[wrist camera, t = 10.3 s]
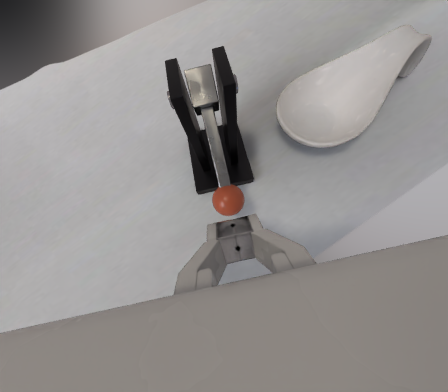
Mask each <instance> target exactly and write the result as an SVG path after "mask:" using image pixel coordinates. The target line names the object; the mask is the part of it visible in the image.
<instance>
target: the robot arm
mask: <svg viewBox="0 0 448 392" xmlns="http://www.w3.org/2000/svg"><path fill="white" fill-rule="evenodd" d="M252 258H256V259H257V260H258V261H259V262H261V263H262V264H263V265H264V266H265V267H266V268H268V269H269V270H270V271H271V272H272V274H268V275H263V276H259V277H254V278H249V279H245V280H240V281H236V282H231V283H227V284H222V285H218V283H219V281H220V279H221V277H222V274H223V272H224V270H225V268H226V266H227V264H230V263H234V262H238V261H242V260H247V259H252ZM217 285H218V286H217ZM0 392H448V235H446V236H441V237H437V238H432V239H428V240H423V241H418V242H414V243H410V244H405V245H400V246H396V247H391V248H386V249H382V250H377V251H373V252H369V253H364V254H359V255H355V256H350V257H346V258H341V259H337V260H332V261H328V262H323V263H319V264H316V262H315V261H314V259H313V258H312V257H311V255H310V254H309V253H308V251H307V250H306V249H305V247H304V246H302V245H300V244H298V243H295V242H293V241H291V240H289V239H287V238H285V237H283V236H281V235H278V234H276V233H274V232H272V231H270V230H268V229H263V227H262V225H261V223H260V221H259V219H258V217H257V215H256V214H252V215H248V216H245V217H241V218H237V219H233V220H227V221H222V222H217V223H213V224H208V225H207V242H205V243H204V244H203V245H202V246H201V247H200V248H199V250H198V251H197V252H196V253H195V254H194V256H193V257H192V258H191V259H190V260H189V262H188V263H187V264H186V265H185V266H184V268H183V269H182V270H181V271H180V272H179V274H178V277H177V282H176V286H175V291H174V295H172V296H168V297H163V298H158V299H154V300H149V301H145V302H140V303H136V304H131V305H126V306H122V307H117V308H113V309H108V310H104V311H99V312H94V313H90V314H85V315H81V316H76V317H71V318H67V319H62V320H58V321H53V322H49V323H44V324H39V325H35V326H30V327H26V328H21V329H16V330H12V331H7V332H3V333H0Z"/></svg>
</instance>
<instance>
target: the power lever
mask: <svg viewBox="0 0 448 392" xmlns="http://www.w3.org/2000/svg"><path fill="white" fill-rule="evenodd" d="M184 73H185V77H186V81H187V85H188V89H189V93H190V97H191V101H192V105H193V108H194V110H195V112H196V114H197V116H198V115H202V117H203V121H204V125H205V129H206V133H207V138H208V142H209V146H210V150H211V154H212V158H213V163H214V167H215V171H216V175H217V179H218V183H219V187H218V188H217V189H216V190H215V192H214V194H213V198H212V202H213V206H214V208H215V209H216V211H217V212H218V213H220V214H222V215H225V216H232V215H235V214H237V213H238V212H239V211H240V210H241V209H242V207H243V205H244V195H243V193H242V191H241V190H240V189H239V188H238V187H237V186H235V185H233V184H230V180H229V175H228V171H227V167H226V162H225V158H224V153H223V149H222V144H221V140H220V136H219V131H218V127H217V122H216V118H215V113H214V111H218V110H219V100H218V95H217V91H216V86H215V81H214V77H213V72H212V68H211V64H208V65H204V66H200V67H196V68H192V69H188V70H185V71H184Z"/></svg>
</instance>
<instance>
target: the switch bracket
mask: <svg viewBox="0 0 448 392" xmlns="http://www.w3.org/2000/svg"><path fill="white" fill-rule="evenodd" d="M212 53H213V60H214V67H215V74H216V81H217V88H218V95H219V103H220V110H221V117H222V124H223V125H221V126H217V127H218V131H219V136H220V140H221V144H222V149H223V153H224V158H225V162H226V167H227V171H228V175H229V180H230V184H233V185H235V186H238V185H242V184H246V183H251V182H253V180H254V177H253V174H252V171H251V167H250V164H249V161H248V158H247V154H246V151H245V148H244V144H243V141H242V138H241V134H240V131H239V128H238V124H237V105H236V94H237V93H238V83H237V78H236V75H235V74H234V75H233V73H232V70H231V67H230V64H229V61H228V58H227V55H226V52H225V49H224V46H222V47H218V48H214V49H212ZM165 65H166V73H167V80H168V88H169V91H167V95H168V99H169V102H170V105H171V107H172V108H173V109H175V111H176V113H177V115H178V117H179V120H180V122H181V124H182V126H183V128H184V130H185V132H186V135H187V137H188V143H189V149H190V155H191V162H192V168H193V174H194V180H195V186H196V192H197V193H198V194H204V193H208V192H212V191H215V190H216V189H217V188H218V187H219V183H218V179H217V175H216V171H215V167H214V163H213V158H212V154H211V150H210V146H209V142H208V138H207V133H206V129H205V130H200V127H199V124H198V121H197V118H196V115H195V112H194V109H193V106H192V103H191V100H190V97H189V94H188V91H187V88H186V85H185V82H184V79H183V76H182V73H181V70H180V67H179V64H178V61H177V59H176V58H175V59H171V60H167V61H165Z"/></svg>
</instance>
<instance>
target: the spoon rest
mask: <svg viewBox="0 0 448 392" xmlns="http://www.w3.org/2000/svg"><path fill="white" fill-rule="evenodd" d="M431 40H432V37H431V36H430V35H427V34H420V33H418V32H416V31H415V30H414V28H413V27H412V26H411V25H403V26H400V27H398V28H396V29H394V30H392V31H390V32H388V33H386V34H384V35H383V36H381V37H379V38H377V39H375V40H374V41H372V42H370V43H368V44H366V45H364V46H362V47H360V48H358V49H356V50H354V51H352V52H350V53H347V54H345V55H343V56H341V57H339V58H337V59H334V60H332V61H330V62H328V63H326V64H323V65H321V66H319V67H317V68H315V69H313V70H311V71H309V72H307V73H305V74H303V75H301V76H299V77H298V78H296V79H295V80H293V81H292V82H291V83H289V84H288V85H287V86H286V87H285V88H284V90H283V91H282V92H281V94H280V95H279V97H278V100H277V104H276V116H277V120H278V122H279V124H280V126H281V127H282V129H283V130H284V131H285V132H286V133H287V135H288V136H290V137H291V138H292V139H293V140H295V141H297V142H298V143H300V144H303V145H306V146H309V147H315V148H328V147H333V146H337V145H340V144H343V143H346V142H348V141H350V140H352V139H354V138H355V137H357V136H358V135H359V134H361V133H362V132H363V131H364V130H365V129H366V128H367V127H368V125H369V124H370V123H371V122H372V121H373V119H374V118H375V116H376V115H377V113H378V112H379V110H380V108H381V106H382V104H383V103H384V101H385V99H386V97H387V95H388V93H389V91H390V89H391V87H392V86H393V84H394V82H395V80H396V78H397V76H400V77H407V76H408V75H409V74H410V73H411V72H412V71H413V70H414V69H415V67H416V66H417V65H418V63H419V62H420V61H421V59H422V58H423V56H424V55H425V53H426V51H427V49H428V47H429V45H430V43H431Z"/></svg>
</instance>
